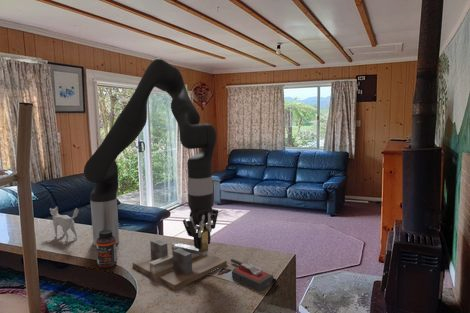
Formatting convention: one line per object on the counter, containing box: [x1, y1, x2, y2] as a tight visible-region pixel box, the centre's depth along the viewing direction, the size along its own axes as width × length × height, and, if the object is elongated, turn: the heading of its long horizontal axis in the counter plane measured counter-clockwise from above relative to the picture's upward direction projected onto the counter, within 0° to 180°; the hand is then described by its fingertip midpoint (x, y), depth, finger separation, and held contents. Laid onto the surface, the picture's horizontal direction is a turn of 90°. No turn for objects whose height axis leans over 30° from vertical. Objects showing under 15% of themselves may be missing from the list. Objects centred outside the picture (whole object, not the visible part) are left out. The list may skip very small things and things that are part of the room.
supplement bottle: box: [95, 230, 117, 269], centre depth 113 cm, size 6×6×11 cm
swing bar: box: [171, 229, 209, 256], centre depth 107 cm, size 13×3×7 cm, turn 62°
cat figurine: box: [49, 205, 80, 243], centre depth 136 cm, size 4×20×14 cm, turn 54°
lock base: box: [132, 238, 228, 291], centre depth 111 cm, size 22×21×8 cm
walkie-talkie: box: [230, 258, 278, 292], centre depth 104 cm, size 9×4×20 cm
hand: (202, 245), depth 105 cm, fingers closed on swing bar, 3 cm apart
